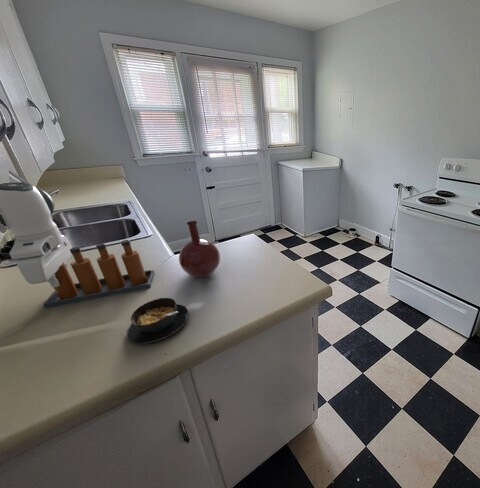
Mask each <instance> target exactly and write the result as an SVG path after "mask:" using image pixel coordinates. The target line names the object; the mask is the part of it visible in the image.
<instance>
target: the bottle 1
mask: <svg viewBox="0 0 480 488" xmlns="http://www.w3.org/2000/svg"><path fill="white" fill-rule="evenodd" d="M70 252H71V253H72V258H73V259H74V261H72V262H71V263H70V266H71V269H72V270H73V272H74V275H75V277H76V279H77V281H78V283H80V285H81V287H82V290H83V292H84V294H85V295H89V294H95V293H98V292H100V291H101V290H102V286H101V284H100V282H99V279H100V278H99V277H98V274H97V273H96V270H95V267H94V265H93V263H92V261H91V259H90V258H89V257H84V256H83V254H82V250H81V247H80V246H74V247H72V248H71V249H70Z"/></svg>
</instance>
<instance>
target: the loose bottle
mask: <svg viewBox="0 0 480 488" xmlns="http://www.w3.org/2000/svg"><path fill="white" fill-rule="evenodd" d="M68 271H69V268H68V269H67V267H66V265H65V263H64V262H63V263H62V264H61V265H60V266H59V269H58V270H57V272H56V273H55V275H56V276H55V277H56V278H57V279H60V282H61V284H60V285H59V286H58V287H53V289H54V291H56V293H57V295H58V297H59V299H60V300H64V299H69V298H73V297H75V296H76V295H78V291H77V289H76V286H75V284H76V283H75V282H74V280H73V278H72V276H71V274H70V272H68Z"/></svg>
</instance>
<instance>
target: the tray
mask: <svg viewBox="0 0 480 488" xmlns="http://www.w3.org/2000/svg"><path fill="white" fill-rule="evenodd" d="M144 271H145V274H146V277H147V280H148V281H147V282H146V283H145V284H141V285H136V286H133V285H132V284H131V281H130V278H129V276H128V273H126V274H122V276H123V279H124V282H125V286H124V287H123V288H121V289H115V290H109V288H108V286H107V284H106V281H105V279H104V278H98V279H99V282H100V284H101V286H102V290H101V291H100V292H98V293H95V294H89V295H85V294H84V292H83V290H82V287H81V285H80V283H79V282H77V283H74V284H75V286H76V289H77V291H78V295H76V296H75V297H73V298H69V299H64V300H60V299H59V297H58V295H57V293H56V291H55V290H54V291H53V292H52V294H50V296H49V297H48V298H47V299H46V300H45V301H44V302H43V303H42V305H43V306H44V308H45V309H51V308H56V307H59V306H66V305H70V304H71V305H72V304H74V303H80V302H86V301H90V300H91V301H92V300H95V299H100V298H101V299H102V298H105V297H110V296H116V295H120V294H125V293H131V292H137V291H140V290H146V289H150V288H151V287H152V283H153V281H154V279H155V278H154V277H155V274H156V273H155V272H156V271H155V270H154V269H149V270H144Z"/></svg>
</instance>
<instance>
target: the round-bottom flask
mask: <svg viewBox="0 0 480 488" xmlns="http://www.w3.org/2000/svg"><path fill="white" fill-rule="evenodd" d="M186 225H187V227H188V232H189V235H190V239H191V241H188V242H187V243H186V244H184V245H183V247H182V248H181V249H180V251H179V255H178V263H179V266H180V268H181V269H182V270H183V272H184V273H186V274H187V275H189V276H191V277H195V278H202V277H207V276H210V275H211V274H213V273H214V272H215V271H216V270H217V268H218V267H219V265H220V262H221V254H220V251H219V249H218V247H217V246H216V245H215V244H214V243H213V242H211V241H209V240H207V239H201V238H200V233H199V229H198V222H197V220H191V221H188V222H186Z"/></svg>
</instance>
